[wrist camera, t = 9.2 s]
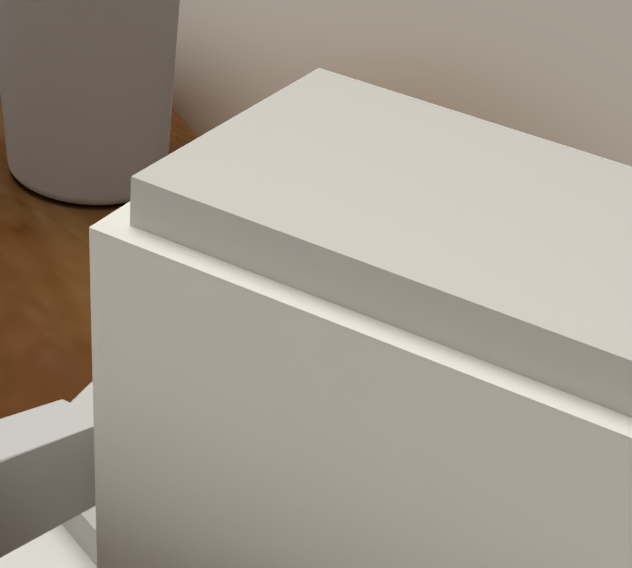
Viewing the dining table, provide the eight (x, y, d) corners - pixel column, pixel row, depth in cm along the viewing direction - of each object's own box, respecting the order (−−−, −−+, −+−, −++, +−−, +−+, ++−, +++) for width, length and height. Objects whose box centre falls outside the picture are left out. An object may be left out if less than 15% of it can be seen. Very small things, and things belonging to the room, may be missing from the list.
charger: (324, 879, 10) (812, 448, 3) (101, 757, 11) (87, 177, 4) (381, 628, 14) (662, 172, 7) (212, 549, 15) (309, 60, 8)
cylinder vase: (195, 182, 51) (232, -160, 37) (81, 227, 42) (71, -211, 27) (98, 131, 55) (97, -196, 41) (-26, 161, 46) (-84, -250, 31)
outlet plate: (-76, 1042, 13) (-110, 1038, 11) (-267, 606, 19) (-312, 550, 17) (376, 514, 28) (398, 469, 26) (187, 355, 33) (193, 308, 31)
